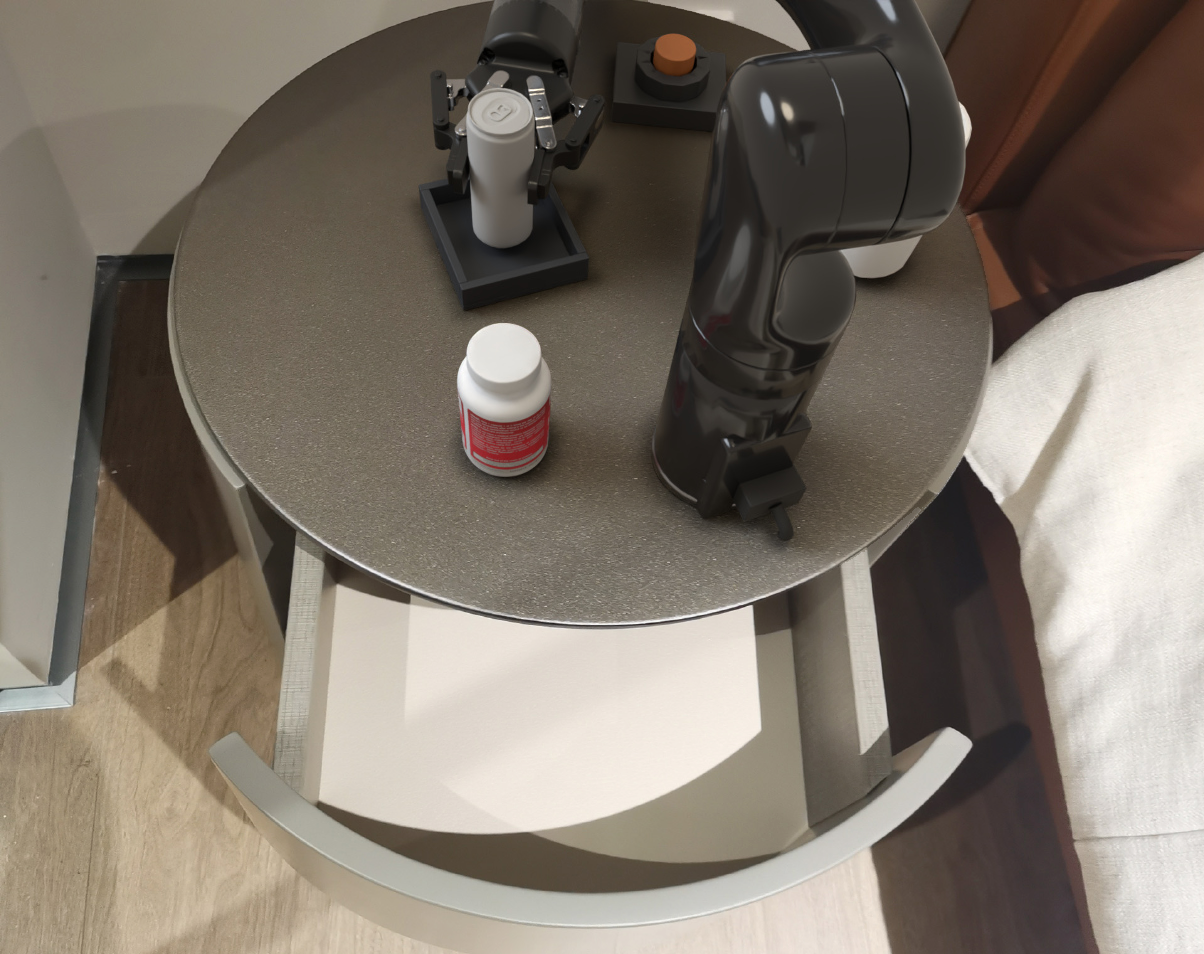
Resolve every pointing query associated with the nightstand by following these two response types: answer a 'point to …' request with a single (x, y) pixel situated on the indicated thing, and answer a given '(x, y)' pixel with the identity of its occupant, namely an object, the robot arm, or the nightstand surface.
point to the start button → (674, 55)
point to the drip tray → (502, 271)
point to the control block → (666, 89)
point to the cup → (892, 254)
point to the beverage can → (500, 165)
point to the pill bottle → (504, 400)
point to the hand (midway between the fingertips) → (495, 190)
